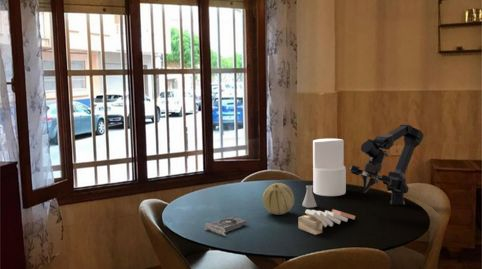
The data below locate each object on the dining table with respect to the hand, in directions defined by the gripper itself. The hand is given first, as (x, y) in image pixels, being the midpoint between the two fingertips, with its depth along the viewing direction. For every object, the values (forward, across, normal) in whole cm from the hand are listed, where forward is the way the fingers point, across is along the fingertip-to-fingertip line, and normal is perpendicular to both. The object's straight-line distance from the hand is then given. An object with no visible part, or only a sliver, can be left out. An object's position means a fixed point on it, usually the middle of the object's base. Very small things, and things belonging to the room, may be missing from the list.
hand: (364, 192), depth 219 cm
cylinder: (-1, -24, +36) cm, 43 cm away
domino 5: (+13, -2, -1) cm, 13 cm away
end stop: (+27, -12, -20) cm, 35 cm away
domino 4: (+15, -4, -5) cm, 17 cm away
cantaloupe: (+24, -32, -4) cm, 41 cm away
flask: (+13, -24, +11) cm, 30 cm away
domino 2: (+20, -7, -12) cm, 25 cm away
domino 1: (+22, -9, -15) cm, 28 cm away
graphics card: (+40, -43, -26) cm, 64 cm away
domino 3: (+18, -5, -9) cm, 21 cm away
